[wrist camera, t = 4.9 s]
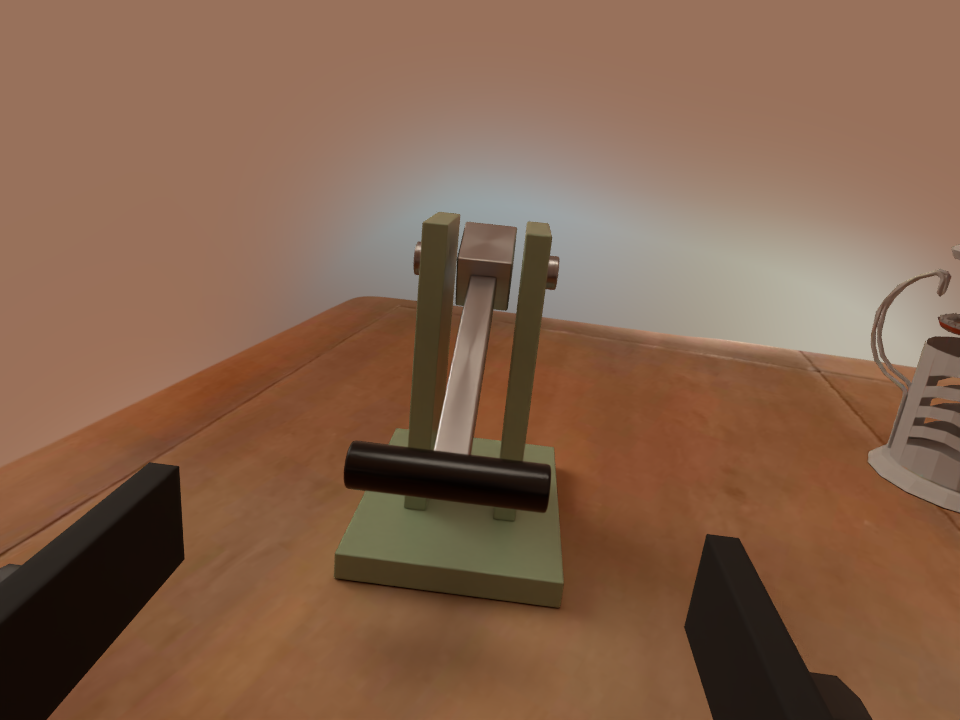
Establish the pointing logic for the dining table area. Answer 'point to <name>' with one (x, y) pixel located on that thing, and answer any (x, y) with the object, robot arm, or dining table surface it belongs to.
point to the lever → (461, 403)
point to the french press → (924, 412)
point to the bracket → (459, 526)
